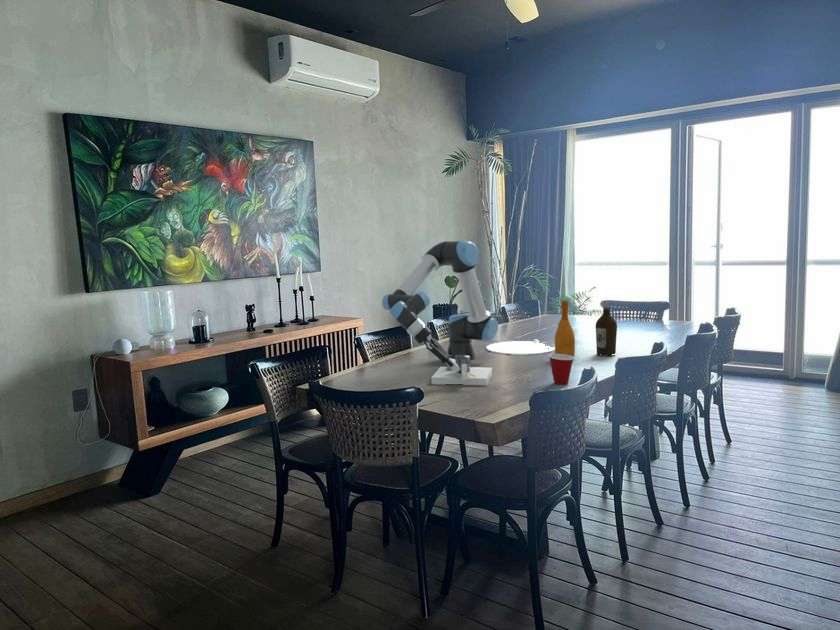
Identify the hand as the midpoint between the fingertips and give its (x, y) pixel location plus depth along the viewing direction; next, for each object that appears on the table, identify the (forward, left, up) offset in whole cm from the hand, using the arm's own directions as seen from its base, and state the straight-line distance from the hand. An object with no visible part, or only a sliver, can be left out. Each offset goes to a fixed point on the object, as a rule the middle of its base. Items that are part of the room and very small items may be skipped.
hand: (458, 371), depth 260 cm
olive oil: (-74, +66, -7) cm, 99 cm away
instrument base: (-14, 0, -6) cm, 15 cm away
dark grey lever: (-7, +1, -3) cm, 7 cm away
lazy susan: (-90, +22, -7) cm, 93 cm away
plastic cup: (-9, +43, -7) cm, 44 cm away
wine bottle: (-60, +45, -7) cm, 75 cm away
